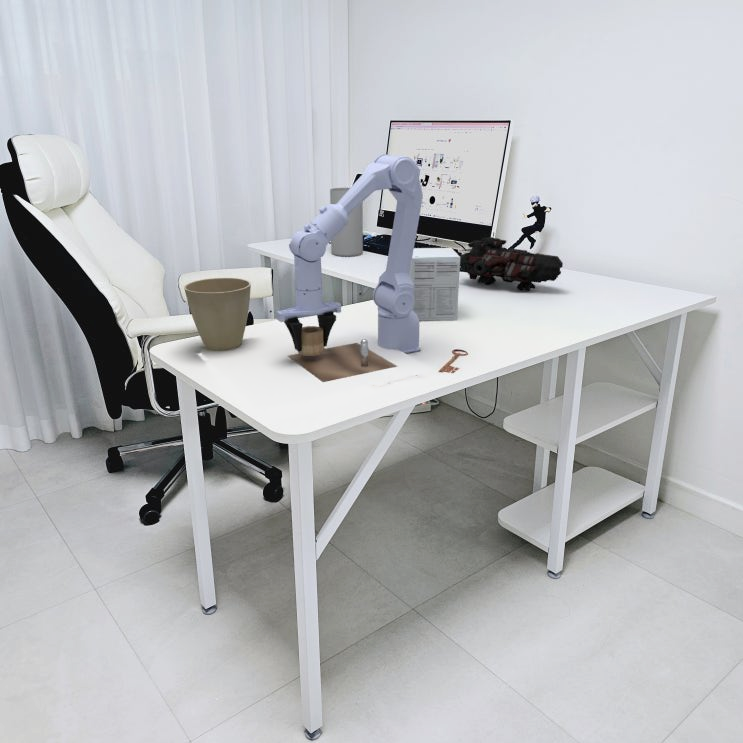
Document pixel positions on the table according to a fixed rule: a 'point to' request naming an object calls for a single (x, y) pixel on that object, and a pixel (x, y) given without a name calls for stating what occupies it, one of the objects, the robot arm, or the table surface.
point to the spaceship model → (508, 264)
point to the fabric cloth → (340, 362)
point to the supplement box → (435, 283)
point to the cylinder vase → (348, 229)
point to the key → (452, 362)
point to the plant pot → (219, 310)
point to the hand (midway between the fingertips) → (310, 347)
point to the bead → (312, 341)
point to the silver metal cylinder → (364, 353)
